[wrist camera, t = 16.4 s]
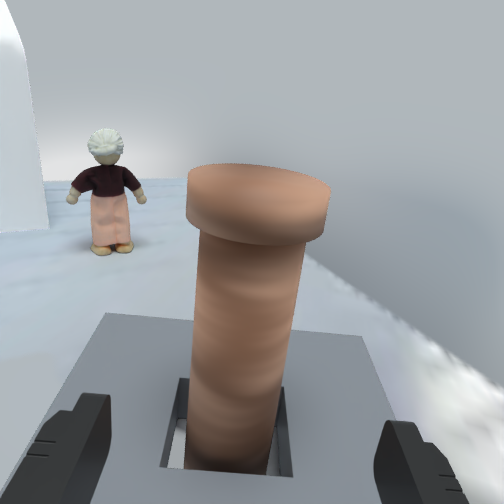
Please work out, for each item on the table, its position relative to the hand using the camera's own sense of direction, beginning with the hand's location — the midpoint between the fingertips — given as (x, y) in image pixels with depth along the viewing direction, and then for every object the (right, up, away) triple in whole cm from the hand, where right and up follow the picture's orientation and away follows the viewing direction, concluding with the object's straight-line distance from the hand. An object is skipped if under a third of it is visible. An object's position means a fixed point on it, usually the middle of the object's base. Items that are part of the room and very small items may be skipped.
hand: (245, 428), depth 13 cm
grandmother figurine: (-15, +5, +34) cm, 38 cm away
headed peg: (-1, -6, +11) cm, 12 cm away
